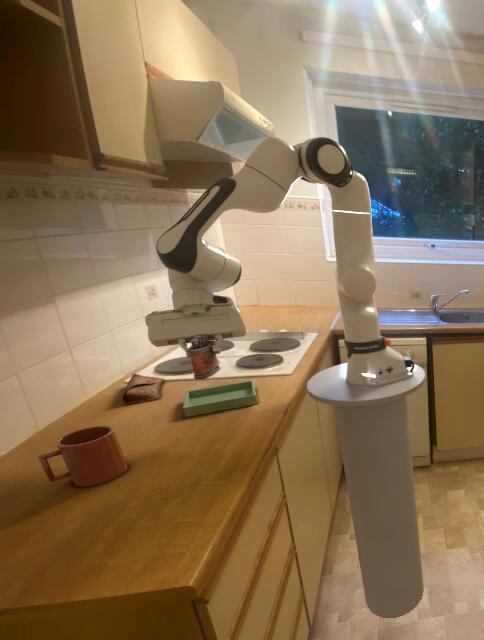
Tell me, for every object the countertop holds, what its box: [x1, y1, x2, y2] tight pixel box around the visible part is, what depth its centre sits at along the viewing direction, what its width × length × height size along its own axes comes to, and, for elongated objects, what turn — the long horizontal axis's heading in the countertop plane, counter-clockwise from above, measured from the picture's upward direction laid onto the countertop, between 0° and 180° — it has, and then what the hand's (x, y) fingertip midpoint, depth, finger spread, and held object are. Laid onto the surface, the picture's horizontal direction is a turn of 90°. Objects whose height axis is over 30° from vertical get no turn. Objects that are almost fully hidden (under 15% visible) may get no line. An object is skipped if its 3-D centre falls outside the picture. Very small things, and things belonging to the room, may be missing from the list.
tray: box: [182, 380, 258, 418], centre depth 126 cm, size 17×13×3 cm
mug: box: [37, 425, 128, 487], centre depth 90 cm, size 12×9×10 cm
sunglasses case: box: [122, 373, 165, 405], centre depth 132 cm, size 18×7×7 cm
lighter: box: [188, 334, 221, 381], centre depth 108 cm, size 8×3×10 cm, turn 4°
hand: (204, 354), depth 107 cm, fingers closed on lighter, 4 cm apart
